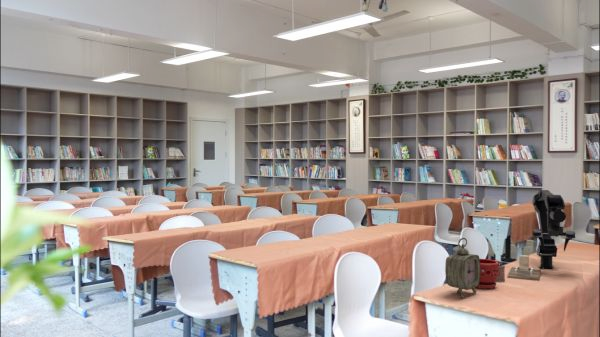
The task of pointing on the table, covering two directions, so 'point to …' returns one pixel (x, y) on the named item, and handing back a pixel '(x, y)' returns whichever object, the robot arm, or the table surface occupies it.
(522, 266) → the peg
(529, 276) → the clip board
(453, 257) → the tabletop clock
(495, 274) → the plant pot
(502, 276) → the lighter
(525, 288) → the table surface
